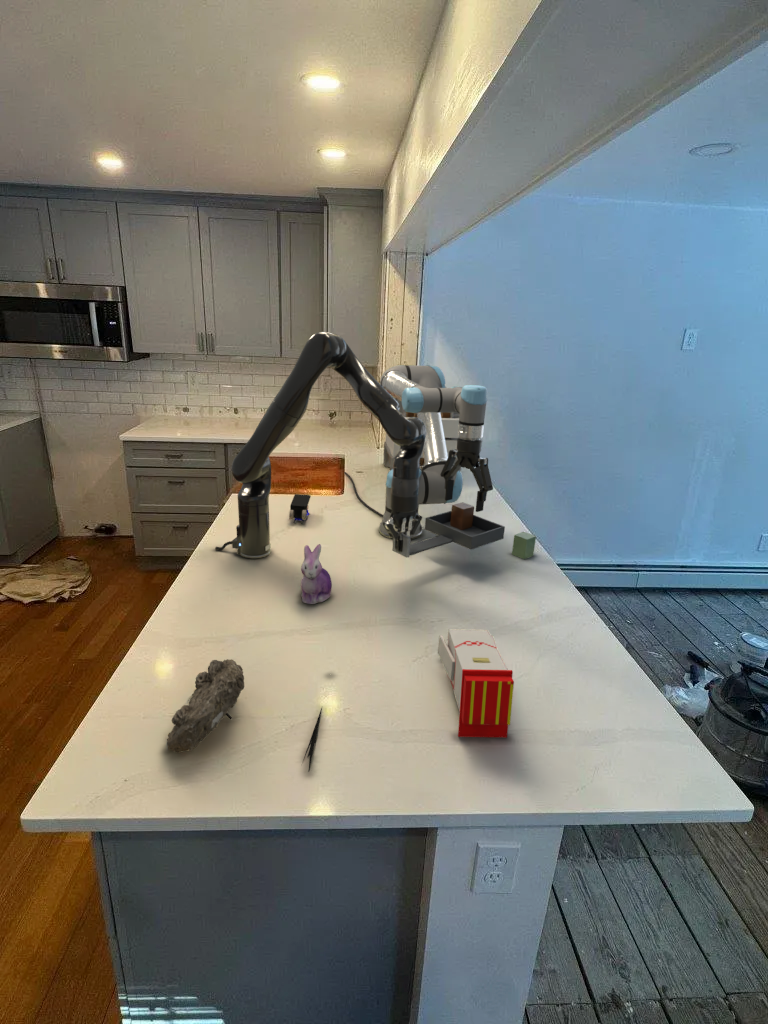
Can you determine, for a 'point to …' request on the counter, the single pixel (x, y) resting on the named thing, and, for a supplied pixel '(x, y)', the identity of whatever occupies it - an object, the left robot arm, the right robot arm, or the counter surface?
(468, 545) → the tray
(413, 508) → the left robot arm
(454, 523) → the walnut block
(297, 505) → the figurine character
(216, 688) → the fossil
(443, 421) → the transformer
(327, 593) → the figurine
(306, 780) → the counter surface
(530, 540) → the sage block
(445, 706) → the counter surface
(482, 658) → the toy
